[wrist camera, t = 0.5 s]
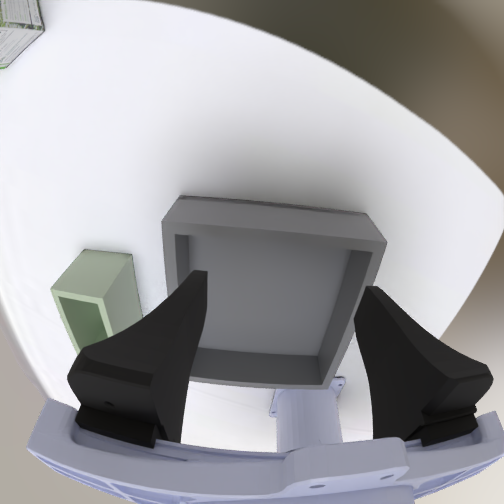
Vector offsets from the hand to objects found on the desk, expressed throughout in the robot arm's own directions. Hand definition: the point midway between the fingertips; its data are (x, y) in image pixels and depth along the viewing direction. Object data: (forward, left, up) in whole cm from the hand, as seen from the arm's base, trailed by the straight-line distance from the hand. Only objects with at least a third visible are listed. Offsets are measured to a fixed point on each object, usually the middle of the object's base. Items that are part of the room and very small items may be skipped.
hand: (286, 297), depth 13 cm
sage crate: (-9, +14, -10) cm, 20 cm away
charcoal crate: (-7, 0, -10) cm, 12 cm away
